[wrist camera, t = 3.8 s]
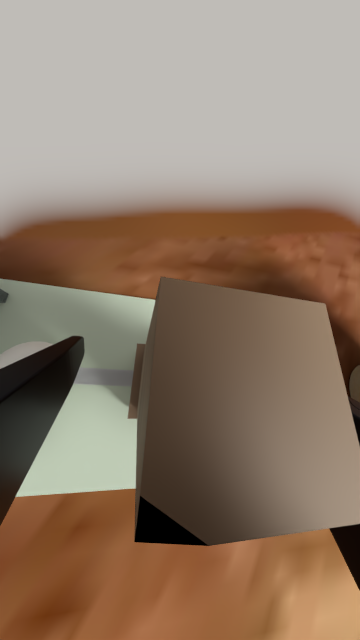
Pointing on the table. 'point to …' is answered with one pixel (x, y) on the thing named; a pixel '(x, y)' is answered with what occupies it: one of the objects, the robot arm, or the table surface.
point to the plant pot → (355, 384)
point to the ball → (21, 352)
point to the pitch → (82, 383)
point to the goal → (3, 296)
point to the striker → (240, 419)
